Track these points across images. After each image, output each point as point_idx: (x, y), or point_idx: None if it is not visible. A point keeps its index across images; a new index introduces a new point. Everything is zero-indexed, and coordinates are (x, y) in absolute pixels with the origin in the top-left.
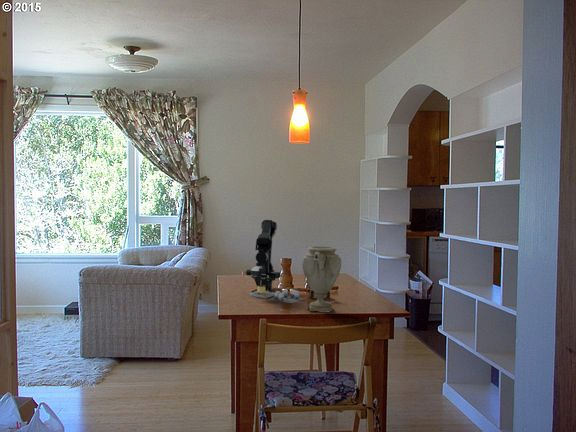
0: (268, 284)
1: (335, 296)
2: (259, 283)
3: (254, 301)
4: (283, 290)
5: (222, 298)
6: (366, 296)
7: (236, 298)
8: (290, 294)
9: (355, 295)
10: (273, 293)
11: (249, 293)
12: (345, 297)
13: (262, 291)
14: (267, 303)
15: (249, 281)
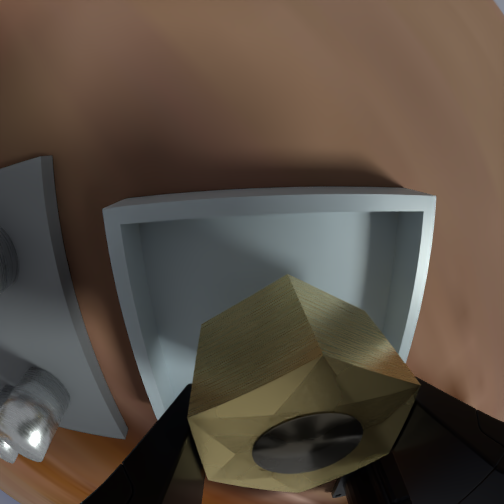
0: (123, 482)
1: (30, 486)
2: (413, 460)
3: (168, 8)
4: (2, 416)
5: (499, 10)
6: (11, 492)
7: (451, 44)
8: (1, 404)
9: (30, 500)
10: (157, 411)
11: (434, 196)
12: (7, 477)
13: (240, 321)
14: (3, 69)
15: None
